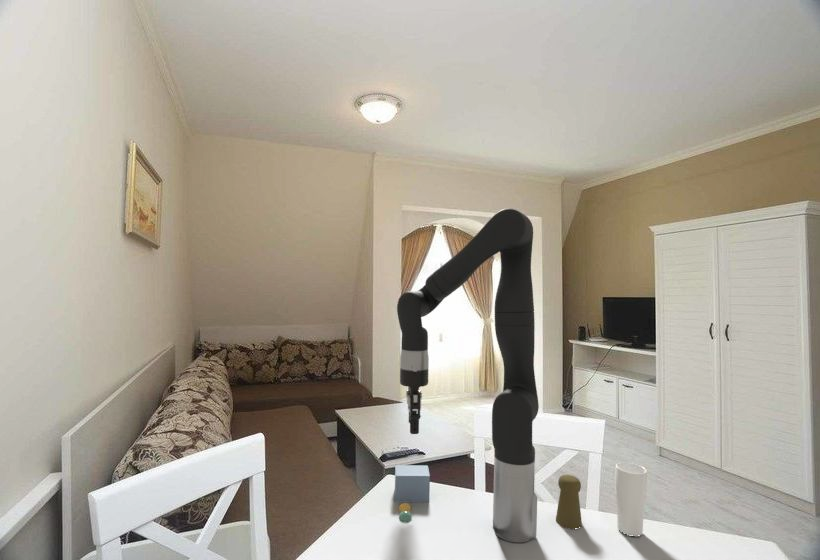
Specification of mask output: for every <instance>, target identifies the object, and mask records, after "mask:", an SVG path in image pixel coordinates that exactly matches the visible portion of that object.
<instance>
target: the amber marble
mask: <svg viewBox="0 0 820 560" xmlns="http://www.w3.org/2000/svg"><path fill="white" fill-rule="evenodd" d="M398 511H399V512H400V513H401V512H403V511H408V512H410V513H411V512H412V507H411V505H410V504H409V503H408V502H403V503H401V504H399V507H398Z"/></svg>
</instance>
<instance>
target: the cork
mask: <svg viewBox="0 0 820 560" xmlns="http://www.w3.org/2000/svg"><path fill="white" fill-rule="evenodd" d="M557 485H558V487H559V489H560V490H559V491H560V492H559V496H558V497H559V498H558V501H557V502H558V504H557V510H556V516H555V521H556V524H557V525H559V526H560V527H563V528H565V529H568V528H570V529H569V530H576V529H575V528H579V527H581V526H582V527H583V521H582V513H581V504H580V502H581V501H580V495H579V493H580V491H581V489H582V483H581V481H580V479H579V478H578V477H576V476H574V475H573V474H563V475H561V476H560V477H559V478H558V482H557ZM582 527H581V528H582ZM579 529H580V528H579Z"/></svg>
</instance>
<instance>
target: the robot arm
mask: <svg viewBox="0 0 820 560" xmlns="http://www.w3.org/2000/svg"><path fill="white" fill-rule="evenodd" d="M530 219H531V218H529V217H528V216H527V215H525V214H524V213H523V212H520V211H519V210H517V209H515V208H502V209H501V210H499V211H497V212H496V213H494V215H493V216H492V217H491V218H489V220H488V221H487V222H486V223H485V225H484V226H483V227H482V228H481V229H480V230H479V231H478V232H477V233H476V234H475V236H473V238H471V240H470V241H469V242H468V243H466V244H465V245H464V246H463V248H461V250H459V251H458V252H457V253H456V254H455V255H454V256H452V257H451V258H450V259H449V260H447V262H445V263H444V264H442V265H441V266H440V267H438V269H436V270H435V271H434V272H432V273H431V274H430V275H429V276H428V277H427V278H426V280H425V282H424V283H425V284H424V285H423V286H422V287H421V288H419V289H418V290H416V291H415V290H408V291H406V292H405V291H404V292H403V293H402V294H401V295H400V296H399V298H398V301H397V304H396V305H397V306H396V310H397V311H396V312H397V317H398V322H399V328H400V332H401V345H400V346H401V351H400V358H399V384H400V385H401V386H403V387H406V388H407V387H408V389H407V390H406V391H405V394H406V396H405V397H406V404H407V411H408V424H409V433H410V435H418V434H419V433H420V419H421V417H422V416H421V411H422V399H423V394H422V390H420V388H421V387H427V386H428V385H429V357H430V356H429V350H428V349H429V335H428V334H429V333H428V330H427V328H425V327H423V322H422V318H423V317H427V315H429V314H430V313H432V312H433V311H434V310H435V309H436V308H437V307H438V306H439V305H440V304H441V303H442V302H443V300H444V299H445V298H447V297H448V296H450V295H451V294H453V292H455V291H457V290H458V289H459V288H461V287H462V286H463V285H464V284H465V283H466V282H467V281H468V280H469V279H470V277H472V275H473V274H475V272H476V271H477V270H478V268H480V267H481V266H482V265H483V264H484V263H485V262H487V260H488V259H490V258H492V257H493V256H494V255H496V254H498V253H499V254H500V255H499V256H500V268H501V269H500V277H499V281H498V285H497V290H496V294H495V299H494V300H495V301H494V330H495V336H496V341H497V344H498V348H499V352H500V354H501V357H502V363H503V385H502V386H503V388H502V392H501V393H499V394H498V395H497V396H496V397H495V399H494V401H493V404H492V409H491V441H492V442H491V443H492V446H493V450H494V451H493V452H494V458H493V460H494V461H493V462H494V463H493V466H494V467H493V501H492V502H493V503H492V508H493V509H492V530H493V532H494V534H495V535H496V536H497V537H498V538H500V539H501V540H504V541H506V542H511V543H525V542H528V541H530V540H532V539H537V529H538V528H537V525H538V524H537V523H538V521H537V520H538V496H537V494H536V492H535V480H536V479H535V477H536V476H535V475H536V473H535V471H536V449H535V446H534V444H533V421H534V420H535V419H536V417H537V415H538V413H539V404H540V403H539V396H538V389H537V384H536V376H535V374H536V373H535V362H534V361H535V331H536V330H535V324H536V323H535V305H534V304H535V303H534V289H533V279H532V278H533V277H532V267H531V266H532V253H533V240H534V227H533V223H532V221H531V220H530Z"/></svg>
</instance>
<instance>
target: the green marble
mask: <svg viewBox="0 0 820 560" xmlns="http://www.w3.org/2000/svg"><path fill="white" fill-rule="evenodd" d="M412 518H413V517H412V514H411V511H410V512H408V511H403V512H400V513H399V516H398V519H399V521H401V522H410V521H411V520H412Z"/></svg>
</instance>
